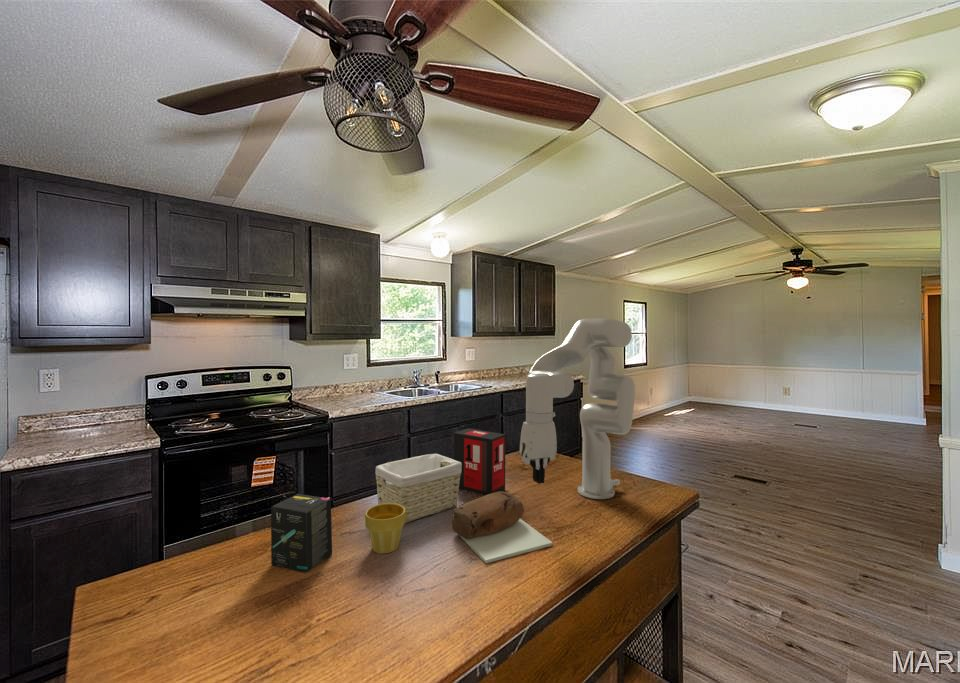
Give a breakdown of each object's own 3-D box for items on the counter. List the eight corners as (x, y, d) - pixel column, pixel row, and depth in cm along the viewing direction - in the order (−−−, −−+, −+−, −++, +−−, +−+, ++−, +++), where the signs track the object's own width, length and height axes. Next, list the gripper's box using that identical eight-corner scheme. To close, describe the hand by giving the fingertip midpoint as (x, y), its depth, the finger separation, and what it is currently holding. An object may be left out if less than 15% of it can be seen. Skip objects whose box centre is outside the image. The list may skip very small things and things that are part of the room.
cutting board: (518, 520, 129) (518, 517, 129) (552, 545, 114) (552, 542, 114) (457, 533, 120) (457, 531, 120) (485, 563, 105) (485, 560, 105)
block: (499, 511, 134) (449, 532, 120) (499, 487, 133) (449, 505, 120) (525, 523, 126) (475, 546, 112) (525, 497, 125) (475, 518, 112)
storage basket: (434, 492, 151) (434, 451, 151) (464, 506, 139) (464, 461, 139) (372, 511, 135) (372, 465, 135) (400, 529, 123) (400, 478, 123)
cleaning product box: (505, 489, 154) (505, 434, 154) (491, 497, 147) (491, 439, 146) (468, 480, 163) (468, 428, 163) (453, 487, 156) (453, 432, 156)
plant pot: (380, 562, 105) (380, 523, 105) (357, 548, 112) (357, 511, 112) (413, 547, 113) (413, 510, 113) (390, 534, 120) (390, 499, 120)
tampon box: (333, 554, 109) (332, 497, 108) (307, 574, 100) (306, 512, 100) (298, 547, 112) (297, 492, 112) (270, 565, 104) (269, 505, 103)
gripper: (552, 413, 128) (552, 474, 129) (509, 417, 121) (509, 481, 122) (568, 417, 121) (568, 482, 122) (524, 422, 115) (523, 490, 115)
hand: (538, 481), depth 122 cm, fingers closed
